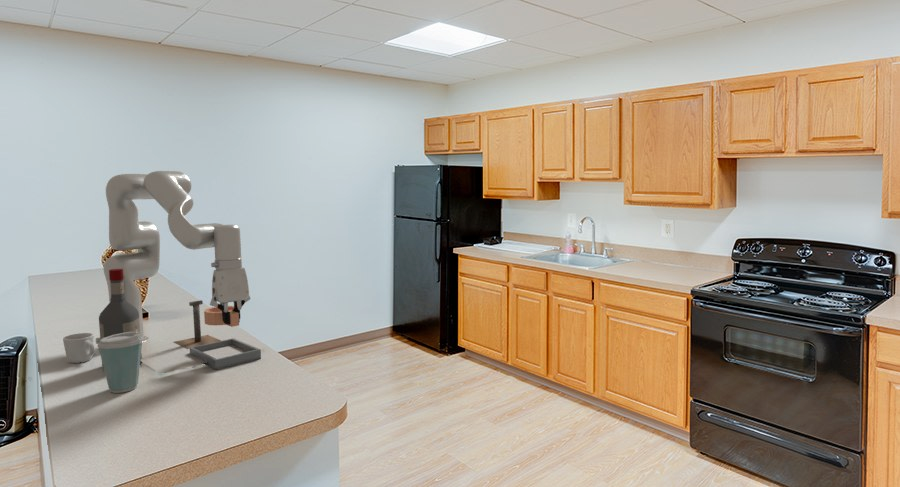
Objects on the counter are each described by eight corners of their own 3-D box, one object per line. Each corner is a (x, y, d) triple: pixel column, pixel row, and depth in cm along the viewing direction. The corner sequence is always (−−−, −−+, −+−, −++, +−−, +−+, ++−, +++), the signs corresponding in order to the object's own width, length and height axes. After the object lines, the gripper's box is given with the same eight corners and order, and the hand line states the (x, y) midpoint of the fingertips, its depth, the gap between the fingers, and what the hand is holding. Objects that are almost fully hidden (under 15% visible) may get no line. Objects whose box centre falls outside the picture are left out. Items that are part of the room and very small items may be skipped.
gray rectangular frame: (215, 369, 163) (215, 360, 163) (190, 356, 176) (189, 347, 175) (260, 358, 174) (260, 349, 174) (233, 346, 186) (233, 338, 186)
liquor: (144, 360, 172) (138, 266, 169) (132, 370, 163) (126, 271, 160) (112, 362, 171) (106, 267, 167) (99, 371, 162) (92, 272, 158)
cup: (106, 360, 172) (104, 335, 172) (80, 367, 165) (78, 342, 164) (85, 355, 177) (83, 331, 176) (59, 362, 170) (57, 337, 169)
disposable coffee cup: (98, 399, 141) (94, 342, 140) (102, 385, 151) (98, 332, 149) (145, 391, 146) (141, 337, 144) (146, 379, 156) (143, 328, 154)
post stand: (187, 352, 180) (185, 307, 178) (173, 345, 188) (170, 301, 186) (223, 344, 189) (221, 301, 187) (207, 338, 197) (205, 296, 195)
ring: (219, 329, 165) (218, 316, 164) (199, 321, 174) (199, 309, 174) (250, 322, 172) (250, 310, 172) (230, 316, 181) (229, 304, 181)
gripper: (208, 268, 160) (211, 330, 161) (258, 262, 171) (261, 320, 173) (197, 266, 165) (200, 325, 167) (247, 260, 176) (250, 316, 178)
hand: (231, 322), depth 170 cm, fingers closed on ring, 2 cm apart
